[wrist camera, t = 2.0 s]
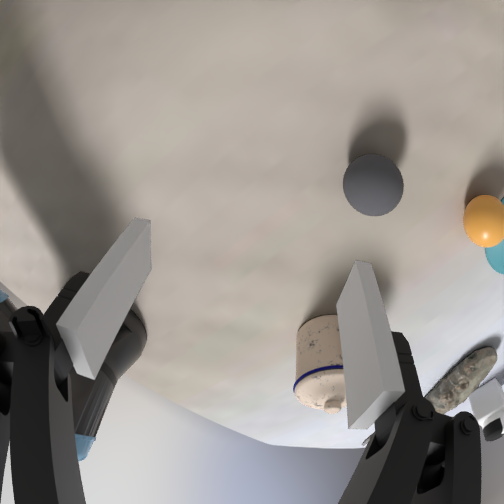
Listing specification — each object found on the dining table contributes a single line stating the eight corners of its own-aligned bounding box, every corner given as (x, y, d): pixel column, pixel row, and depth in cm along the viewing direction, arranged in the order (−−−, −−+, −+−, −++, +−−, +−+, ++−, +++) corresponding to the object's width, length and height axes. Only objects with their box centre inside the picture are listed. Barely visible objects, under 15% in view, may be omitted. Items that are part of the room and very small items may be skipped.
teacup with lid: (345, 359, 44) (351, 429, 34) (286, 350, 44) (283, 422, 34) (381, 302, 37) (401, 379, 28) (314, 288, 37) (318, 370, 27)
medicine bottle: (475, 402, 51) (487, 446, 42) (467, 394, 49) (480, 442, 39) (501, 386, 48) (516, 430, 38) (495, 376, 46) (511, 424, 36)
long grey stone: (374, 429, 61) (407, 427, 62) (376, 449, 57) (410, 446, 58) (469, 342, 40) (504, 343, 41) (480, 368, 36) (514, 366, 36)
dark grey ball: (332, 193, 30) (340, 219, 25) (347, 140, 27) (359, 157, 22) (383, 205, 30) (398, 233, 26) (400, 155, 27) (421, 176, 22)
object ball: (448, 224, 30) (468, 252, 26) (466, 180, 27) (492, 203, 22) (481, 234, 30) (502, 262, 26) (500, 194, 27) (525, 218, 22)
